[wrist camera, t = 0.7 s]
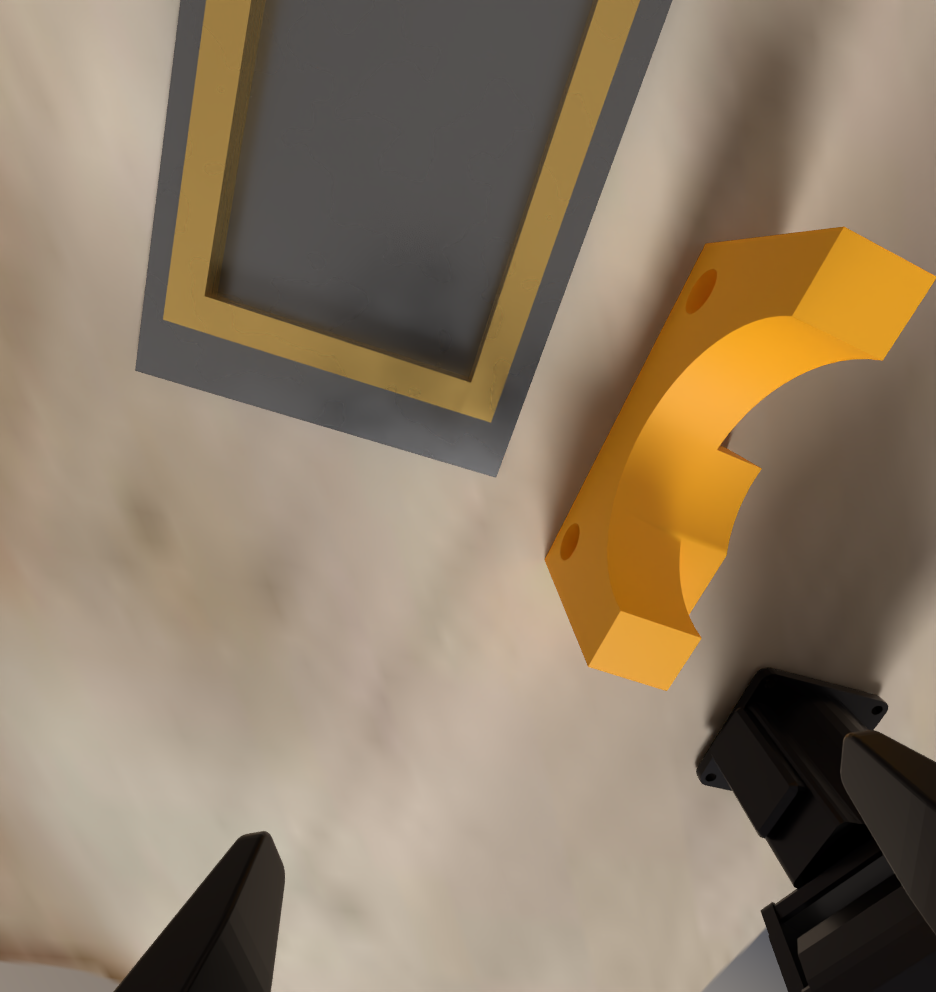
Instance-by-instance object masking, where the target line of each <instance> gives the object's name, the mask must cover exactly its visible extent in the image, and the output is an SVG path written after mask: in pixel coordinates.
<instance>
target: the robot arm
mask: <svg viewBox="0 0 936 992" xmlns="http://www.w3.org/2000/svg"><path fill="white" fill-rule="evenodd" d="M769 679H770V680H769ZM767 680H769V681H767ZM766 681H767V682H766ZM887 710H888V705H887V703H886V702H885V701H884V700H883V699H882V698H880V697H879V696H877V695H874V694H870V693H866V692H862V691H858V690H854V689H850V688H847V687H843V686H839V685H835V684H831V683H827V682H823V681H819V680H815V679H812V678H808V677H804V676H800V675H796V674H792V673H788V672H784V671H780V670H776V669H773V668H764V669H762V670H760V671H758V672H757V674H756V675H755V676H754V678H753V679H752V681H751V683H750V684H749V686H748V687H747V689H746V691H745V692H744V694H743V696H742V697H741V699H740V700H739V702H738V704H737V705H736V707H735V708H734V710H733V712H732V713H731V715H730V716H729V718H728V720H727V721H726V723H725V724H724V726H723V728H722V729H721V731H720V733H719V734H718V736H717V737H716V739H715V741H714V742H713V744H712V745H711V747H710V749H709V750H708V752H707V753H706V755H705V757H704V758H703V760H702V761H701V763H700V765H699V766H698V768H697V770H696V773H697V776H698V778H699V780H700V782H701V783H702V784H704V785H707V786H711V787H716V788H721V789H726V790H731V791H733V793H734V794H735V796H736V798H737V800H738V801H739V803H740V805H741V806H742V808H743V810H744V811H745V813H746V815H747V816H748V818H749V820H750V822H751V823H752V825H753V827H754V828H755V830H756V832H757V833H758V835H759V836H760V837H762V838H765V839H766V841H767V842H768V844H769V846H770V847H771V849H772V851H773V852H774V854H775V856H776V857H777V859H778V861H779V862H780V864H781V866H782V867H783V869H784V871H785V872H786V874H787V876H788V877H789V879H790V881H791V882H792V884H793V886H794V887H795V888H797V889H796V890H795V891H793V892H792V893H790V894H789V895H787V896H786V897H785V898H783V899H782V900H780V901H779V902H777V903H776V904H775V903H773V902H772V903H770V904H769V905H768V906H766V907H765V908H763V909H762V910H761V913H762V916H763V919H764V922H765V925H766V927H767V930H768V933H769V939H770V942H771V945H772V948H773V951H774V953H775V956H776V959H777V962H778V964H779V967H780V970H781V973H782V976H783V978H784V981H785V984H786V987H787V990H788V992H936V762H935V761H933V760H931V759H929V758H927V757H925V756H923V755H922V754H920V753H918V752H916V751H914V750H912V749H910V748H908V747H907V746H905V745H903V744H901V743H899V742H897V741H895V740H893V739H891V738H890V737H888V736H886V735H884V734H882V733H880V732H877V731H874V729H875V727H876V726H877V725H878V723H879V722H880V720H881V719H882V718H883V716H884V715H885V714H886V712H887ZM284 885H285V871H284V866H283V863H282V860H281V858H280V856H279V853H278V851H277V849H276V846H275V844H274V841H273V839H272V837H271V835H270V834H269V833H268V832H266V831H262V832H256V833H250V834H245V835H243V836H241V837H240V838H238V839H237V840H236V842H235V843H234V844H233V845H232V846H231V848H230V849H229V850H228V851H227V853H226V854H225V855H224V856H223V858H222V859H221V860H220V861H219V862H218V864H217V865H216V866H215V867H214V869H213V870H212V871H211V872H210V874H209V875H208V876H207V877H206V878H205V880H204V881H203V882H202V883H201V885H200V886H199V887H198V888H197V890H196V891H195V892H194V893H193V894H192V896H191V897H190V898H189V899H188V901H187V902H186V903H185V904H184V906H183V907H182V908H181V909H180V910H179V912H178V913H177V914H176V915H175V917H174V918H173V919H172V920H171V922H170V923H169V924H168V925H167V927H166V928H165V929H164V930H163V931H162V933H161V934H160V935H159V936H158V938H157V939H156V940H155V941H154V943H153V944H152V945H151V946H150V947H149V949H148V950H147V951H146V952H145V954H144V955H143V956H142V957H141V959H140V960H139V961H138V962H137V963H136V965H135V966H134V967H133V968H132V970H131V971H130V972H129V973H128V975H127V976H126V977H125V978H124V979H123V981H122V982H121V983H120V984H119V986H118V987H117V988H116V989H115V991H114V992H271V986H272V979H273V971H274V963H275V955H276V948H277V940H278V932H279V924H280V916H281V908H282V901H283V893H284Z"/></svg>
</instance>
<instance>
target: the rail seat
mask: <svg viewBox="0 0 936 992" xmlns="http://www.w3.org/2000/svg"><path fill="white" fill-rule="evenodd" d="M671 3H672V0H181V1H180V9H179V18H178V26H177V34H176V42H175V50H174V58H173V67H172V75H171V83H170V91H169V99H168V107H167V116H166V124H165V132H164V140H163V148H162V156H161V165H160V173H159V181H158V189H157V197H156V205H155V214H154V222H153V230H152V238H151V246H150V254H149V262H148V271H147V279H146V287H145V295H144V303H143V311H142V320H141V328H140V336H139V344H138V352H137V360H136V369H135V371H138V372H142V373H145V374H148V375H152V376H155V377H158V378H162V379H165V380H169V381H172V382H175V383H179V384H182V385H185V386H189V387H192V388H196V389H199V390H202V391H206V392H209V393H212V394H216V395H219V396H223V397H226V398H229V399H233V400H236V401H239V402H243V403H246V404H250V405H253V406H256V407H260V408H263V409H266V410H270V411H273V412H277V413H280V414H283V415H287V416H290V417H293V418H297V419H300V420H304V421H307V422H310V423H314V424H317V425H320V426H324V427H327V428H330V429H334V430H337V431H341V432H344V433H347V434H351V435H354V436H357V437H361V438H364V439H368V440H371V441H374V442H378V443H381V444H384V445H388V446H391V447H395V448H398V449H401V450H405V451H408V452H411V453H415V454H418V455H422V456H425V457H428V458H432V459H435V460H438V461H442V462H445V463H449V464H452V465H455V466H459V467H462V468H465V469H469V470H472V471H476V472H479V473H482V474H486V475H489V476H492V477H496V476H497V474H498V471H499V468H500V465H501V463H502V460H503V457H504V455H505V452H506V449H507V447H508V444H509V441H510V438H511V436H512V433H513V430H514V428H515V425H516V422H517V419H518V417H519V414H520V411H521V409H522V406H523V403H524V401H525V398H526V395H527V392H528V390H529V387H530V384H531V382H532V379H533V376H534V373H535V371H536V368H537V365H538V363H539V360H540V357H541V354H542V352H543V349H544V346H545V344H546V341H547V338H548V336H549V333H550V330H551V327H552V325H553V322H554V319H555V317H556V314H557V311H558V308H559V306H560V303H561V300H562V298H563V295H564V292H565V290H566V287H567V284H568V281H569V279H570V276H571V273H572V271H573V268H574V265H575V262H576V260H577V257H578V254H579V252H580V249H581V246H582V244H583V241H584V238H585V235H586V233H587V230H588V227H589V225H590V222H591V219H592V216H593V214H594V211H595V208H596V206H597V203H598V200H599V197H600V195H601V192H602V189H603V187H604V184H605V181H606V179H607V176H608V173H609V170H610V168H611V165H612V162H613V160H614V157H615V154H616V151H617V149H618V146H619V143H620V141H621V138H622V135H623V133H624V130H625V127H626V124H627V122H628V119H629V116H630V114H631V111H632V108H633V105H634V103H635V100H636V97H637V95H638V92H639V89H640V87H641V84H642V81H643V78H644V76H645V73H646V70H647V68H648V65H649V62H650V59H651V57H652V54H653V51H654V49H655V46H656V43H657V40H658V38H659V35H660V32H661V30H662V27H663V24H664V22H665V19H666V16H667V13H668V11H669V8H670V5H671Z"/></svg>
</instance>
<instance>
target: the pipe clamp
mask: <svg viewBox="0 0 936 992" xmlns="http://www.w3.org/2000/svg"><path fill="white" fill-rule="evenodd" d="M935 280H936V276H934V275H933V274H931V273H929V272H927V271H925V270H923V269H921V268H920V267H918V266H916V265H914V264H912V263H910V262H908V261H907V260H905V259H903V258H901V257H899V256H897V255H896V254H894V253H892V252H890V251H888V250H886V249H884V248H883V247H881V246H879V245H877V244H875V243H873V242H872V241H870V240H868V239H866V238H864V237H862V236H860V235H859V234H857V233H855V232H853V231H851V230H849V229H847V228H846V227H837V228H829V229H821V230H813V231H805V232H796V233H788V234H780V235H772V236H764V237H755V238H747V239H739V240H731V241H723V242H714V243H706V244H705V246H704V248H703V250H702V252H701V253H700V255H699V257H698V259H697V261H696V263H695V265H694V267H693V269H692V271H691V273H690V275H689V277H688V279H687V281H686V283H685V285H684V287H683V289H682V291H681V293H680V295H679V297H678V299H677V301H676V303H675V305H674V307H673V308H672V310H671V312H670V314H669V316H668V318H667V320H666V322H665V324H664V326H663V328H662V330H661V332H660V334H659V336H658V338H657V340H656V342H655V344H654V346H653V348H652V350H651V352H650V354H649V356H648V358H647V360H646V362H645V363H644V365H643V367H642V369H641V371H640V373H639V375H638V377H637V379H636V381H635V383H634V385H633V387H632V389H631V391H630V393H629V395H628V397H627V399H626V401H625V403H624V405H623V407H622V409H621V411H620V413H619V415H618V417H617V418H616V420H615V422H614V424H613V426H612V428H611V430H610V432H609V434H608V436H607V438H606V440H605V442H604V444H603V446H602V448H601V450H600V452H599V454H598V456H597V458H596V460H595V462H594V464H593V466H592V468H591V470H590V472H589V473H588V475H587V477H586V479H585V481H584V483H583V485H582V487H581V489H580V491H579V493H578V495H577V497H576V499H575V501H574V503H573V505H572V507H571V509H570V511H569V513H568V515H567V517H566V519H565V521H564V523H563V525H562V527H561V528H560V530H559V532H558V534H557V536H556V538H555V540H554V542H553V544H552V546H551V548H550V550H549V552H548V554H547V556H546V558H545V562H546V565H547V567H548V569H549V572H550V574H551V577H552V579H553V582H554V584H555V587H556V589H557V592H558V594H559V596H560V599H561V601H562V604H563V606H564V609H565V611H566V614H567V616H568V619H569V621H570V623H571V626H572V628H573V631H574V633H575V636H576V638H577V641H578V643H579V646H580V648H581V650H582V653H583V655H584V658H585V660H586V663H587V665H588V667H591V668H594V669H597V670H600V671H604V672H607V673H610V674H613V675H617V676H620V677H623V678H626V679H630V680H633V681H636V682H639V683H643V684H646V685H649V686H652V687H655V688H659V689H662V690H665V691H667V690H668V689H669V687H670V686H671V684H672V683H673V681H674V680H675V678H676V677H677V675H678V674H679V672H680V671H681V669H682V667H683V666H684V664H685V663H686V661H687V660H688V658H689V657H690V655H691V654H692V652H693V651H694V649H695V648H696V646H697V644H698V643H699V641H700V640H701V636H700V635H699V633H698V632H697V630H696V629H695V627H694V625H693V623H692V621H691V619H690V617H689V614H690V612H691V611H692V609H693V608H694V606H695V605H696V603H697V601H698V600H699V598H700V597H701V595H702V593H703V592H704V590H705V589H706V587H707V586H708V584H709V582H710V581H711V579H712V578H713V576H714V575H715V573H716V571H717V570H718V568H719V567H720V565H721V563H722V562H723V560H724V559H725V557H726V556H727V550H728V544H729V540H730V535H731V532H732V528H733V525H734V522H735V519H736V516H737V513H738V511H739V508H740V506H741V504H742V502H743V499H744V497H745V496H746V494H747V492H748V490H749V488H750V486H751V485H752V483H753V481H754V480H755V478H756V476H757V475H758V473H759V472H760V471H761V469H762V468H760V467H758V466H756V465H755V464H753V463H751V462H750V461H748V460H746V459H744V458H743V457H741V456H739V455H737V454H736V453H734V452H732V451H730V450H729V449H727V448H724V447H722V446H720V444H721V443H722V442H723V440H724V439H725V438H726V436H727V435H728V434H729V433H730V431H731V430H732V429H733V428H734V427H735V426H736V424H737V423H738V422H739V421H740V420H741V419H742V418H743V417H744V416H745V415H746V414H747V413H748V412H749V411H750V410H751V409H752V408H753V407H754V406H755V405H756V404H758V403H759V402H760V401H761V400H762V399H764V398H765V397H766V396H767V395H769V394H770V393H771V392H773V391H774V390H776V389H777V388H778V387H780V386H781V385H783V384H784V383H786V382H788V381H790V380H791V379H793V378H795V377H797V376H799V375H801V374H803V373H805V372H807V371H809V370H812V369H815V368H818V367H820V366H823V365H826V364H830V363H834V362H838V361H845V360H852V359H873V360H882V361H883V359H884V358H885V356H886V355H887V353H888V352H889V350H890V349H891V347H892V345H893V344H894V342H895V341H896V339H897V338H898V336H899V335H900V333H901V332H902V330H903V329H904V327H905V326H906V324H907V322H908V321H909V319H910V318H911V316H912V315H913V313H914V312H915V310H916V309H917V307H918V306H919V304H920V303H921V301H922V299H923V298H924V296H925V295H926V293H927V292H928V290H929V289H930V287H931V286H932V284H933V283H934V281H935Z"/></svg>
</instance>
